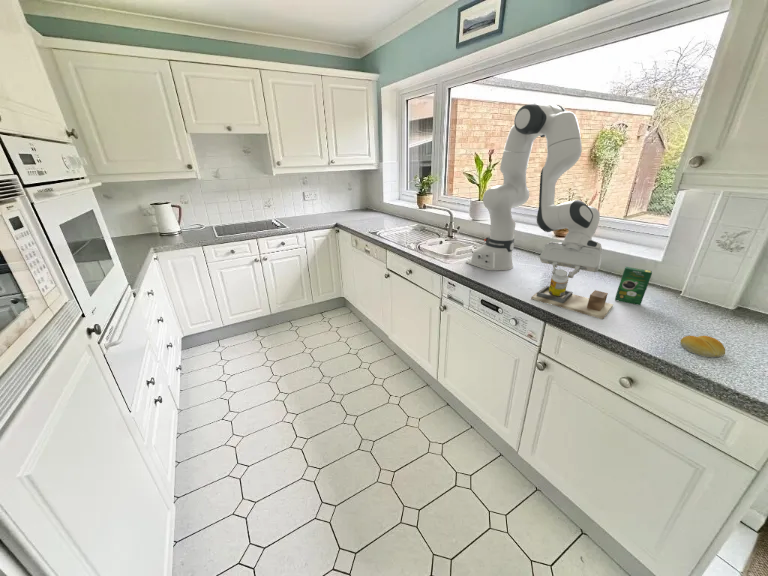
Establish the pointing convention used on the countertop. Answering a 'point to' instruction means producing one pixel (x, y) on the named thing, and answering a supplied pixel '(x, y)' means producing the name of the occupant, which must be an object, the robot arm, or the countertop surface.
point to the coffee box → (633, 285)
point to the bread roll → (703, 346)
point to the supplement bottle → (558, 283)
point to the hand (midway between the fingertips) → (562, 275)
